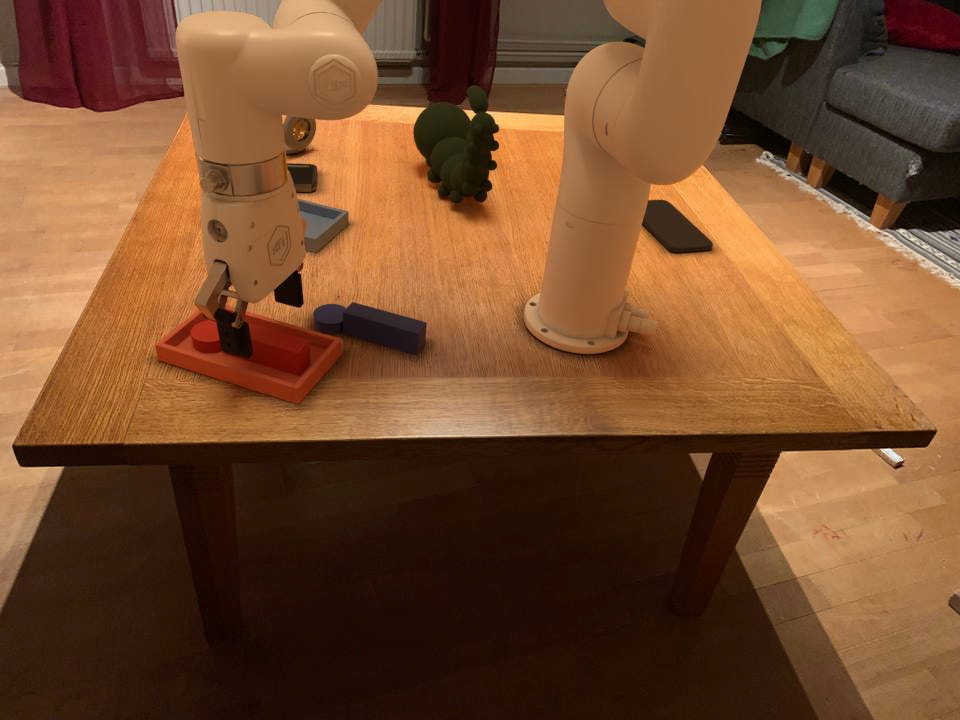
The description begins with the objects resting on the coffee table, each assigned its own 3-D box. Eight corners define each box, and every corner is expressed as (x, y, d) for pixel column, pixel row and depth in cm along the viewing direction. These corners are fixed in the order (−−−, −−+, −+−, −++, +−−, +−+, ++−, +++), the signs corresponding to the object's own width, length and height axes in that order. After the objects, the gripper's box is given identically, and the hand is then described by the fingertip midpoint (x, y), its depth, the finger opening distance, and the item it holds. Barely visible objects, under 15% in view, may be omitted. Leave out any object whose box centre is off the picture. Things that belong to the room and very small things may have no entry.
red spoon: (314, 359, 77) (313, 336, 76) (295, 381, 74) (293, 357, 73) (207, 327, 80) (204, 304, 78) (184, 346, 77) (180, 323, 75)
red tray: (342, 353, 79) (342, 338, 78) (298, 404, 72) (297, 389, 71) (212, 315, 83) (209, 300, 82) (157, 360, 76) (154, 344, 74)
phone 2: (671, 248, 104) (625, 201, 116) (670, 253, 105) (624, 205, 116) (716, 245, 107) (666, 199, 118) (714, 250, 107) (665, 203, 118)
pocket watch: (270, 138, 124) (265, 78, 118) (320, 144, 125) (318, 83, 119) (257, 157, 118) (251, 94, 112) (310, 162, 118) (307, 100, 112)
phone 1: (216, 160, 112) (317, 164, 115) (217, 167, 113) (317, 170, 116) (209, 182, 106) (315, 185, 109) (210, 189, 107) (315, 192, 109)
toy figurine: (503, 226, 111) (452, 147, 127) (524, 104, 98) (464, 34, 115) (443, 231, 107) (399, 150, 124) (457, 106, 95) (406, 34, 112)
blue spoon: (428, 340, 83) (429, 318, 81) (414, 360, 80) (415, 337, 78) (324, 311, 86) (323, 289, 84) (307, 328, 82) (305, 306, 81)
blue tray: (348, 224, 103) (348, 211, 102) (316, 253, 96) (315, 239, 95) (247, 198, 106) (245, 185, 105) (208, 224, 99) (206, 210, 98)
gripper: (222, 218, 57) (249, 387, 68) (329, 142, 70) (338, 294, 81) (140, 198, 59) (179, 366, 69) (260, 128, 72) (277, 278, 83)
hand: (264, 327), depth 75 cm, fingers open, 9 cm apart
